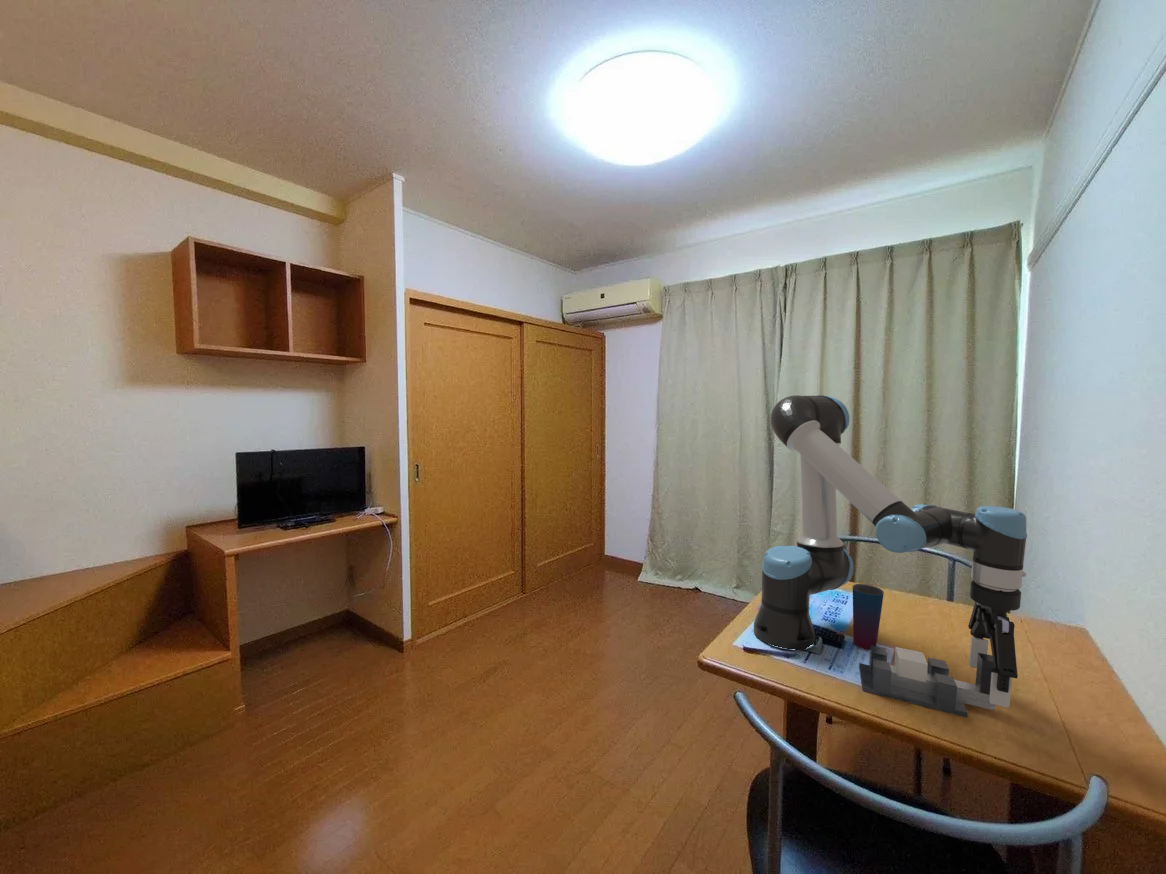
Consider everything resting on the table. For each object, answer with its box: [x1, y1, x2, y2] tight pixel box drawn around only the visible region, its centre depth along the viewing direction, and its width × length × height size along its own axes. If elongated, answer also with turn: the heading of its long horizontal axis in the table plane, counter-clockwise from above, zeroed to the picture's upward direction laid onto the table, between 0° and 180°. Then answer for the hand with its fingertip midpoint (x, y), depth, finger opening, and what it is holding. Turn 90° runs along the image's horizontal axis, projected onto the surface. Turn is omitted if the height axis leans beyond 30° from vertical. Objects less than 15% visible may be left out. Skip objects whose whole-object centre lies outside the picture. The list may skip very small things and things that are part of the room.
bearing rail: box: [858, 645, 969, 718], centre depth 99 cm, size 18×10×6 cm, turn 62°
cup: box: [852, 583, 885, 651], centre depth 117 cm, size 7×7×15 cm
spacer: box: [894, 646, 928, 682], centre depth 99 cm, size 5×5×4 cm
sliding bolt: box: [890, 653, 996, 711], centre depth 97 cm, size 20×3×10 cm, turn 62°
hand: (987, 685), depth 93 cm, fingers open, 13 cm apart
